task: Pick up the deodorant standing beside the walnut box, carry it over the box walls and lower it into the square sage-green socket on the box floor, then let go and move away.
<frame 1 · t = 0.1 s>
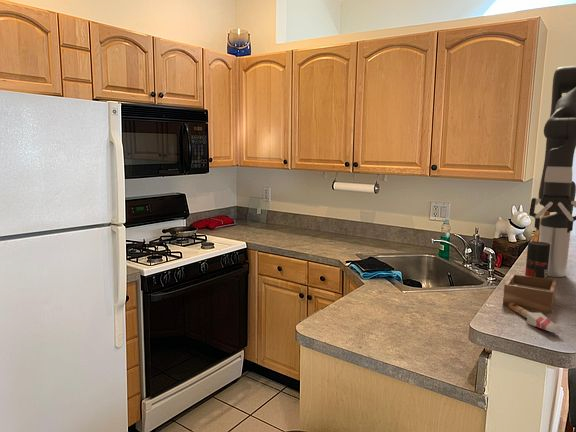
hand: (552, 231, 144), 17 cm above the worktop, fingers open, 8 cm apart
paintbrush: (532, 323, 112), on the worktop
deodorant: (534, 291, 138), on the worktop
walled box: (529, 302, 127), on the worktop
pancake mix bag: (539, 258, 181), on the worktop
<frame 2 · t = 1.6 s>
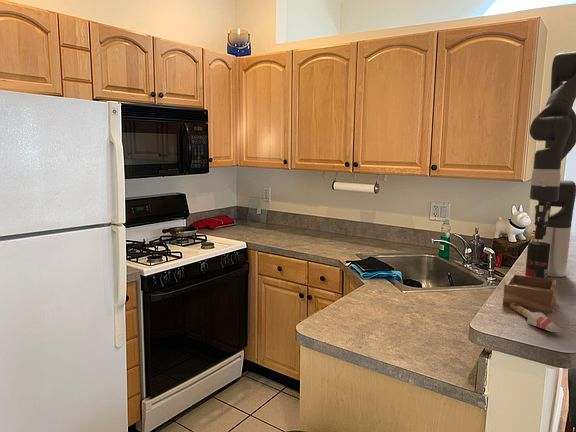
hand: (540, 237, 135), 17 cm above the worktop, fingers open, 8 cm apart
nothing on the worktop moved.
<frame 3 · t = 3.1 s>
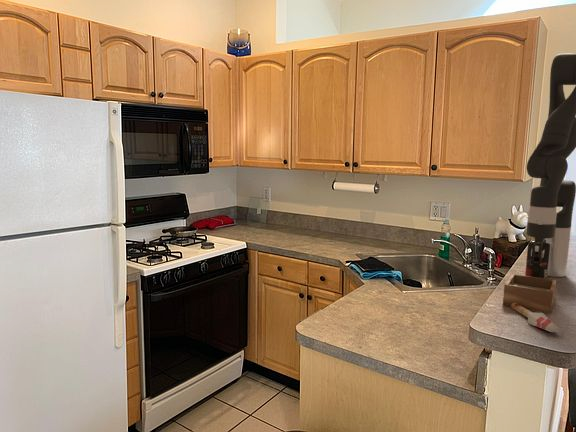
hand: (536, 274, 137), 5 cm above the worktop, fingers closed on deodorant, 6 cm apart
deodorant: (534, 291, 138), on the worktop, touching gripper
everything else where it was.
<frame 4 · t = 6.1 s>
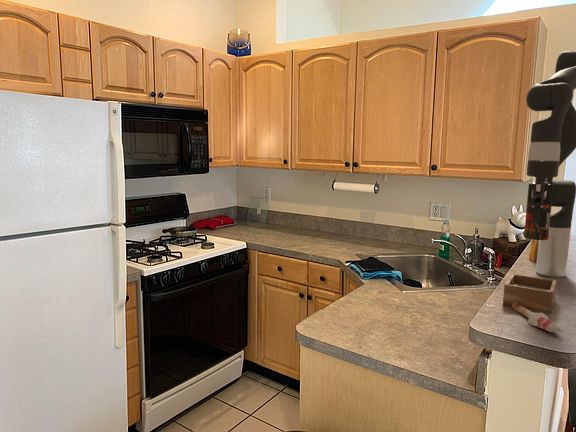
hand: (537, 220, 123), 24 cm above the worktop, fingers closed on deodorant, 6 cm apart
deodorant: (535, 238, 124), point 19 cm above the worktop, touching gripper
everything else where it was.
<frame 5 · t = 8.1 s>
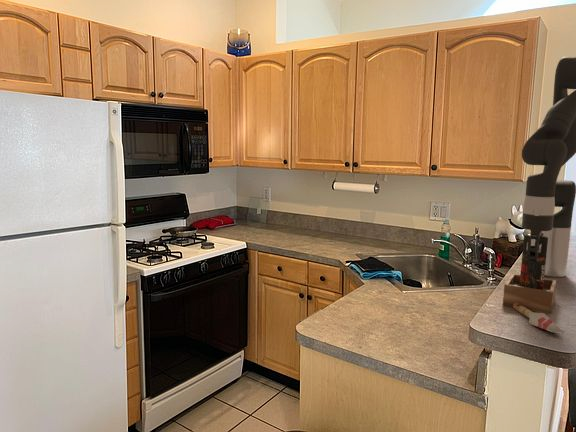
hand: (532, 271, 125), 9 cm above the worktop, fingers closed on deodorant, 6 cm apart
deodorant: (530, 289, 126), point 4 cm above the worktop, touching gripper
everything else where it was.
when the fingers open (7 cm above the worktop, at t = 9.4 s): deodorant drops 1 cm, resting on walled box.
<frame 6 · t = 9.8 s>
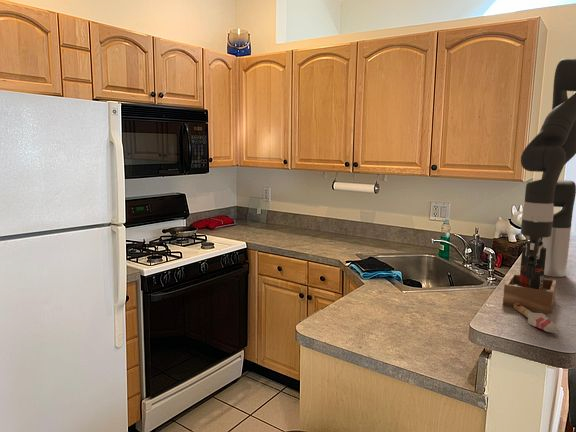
hand: (531, 275, 125), 8 cm above the worktop, fingers open, 8 cm apart
deodorant: (529, 299, 127), point 1 cm above the worktop, touching walled box
everything else where it was.
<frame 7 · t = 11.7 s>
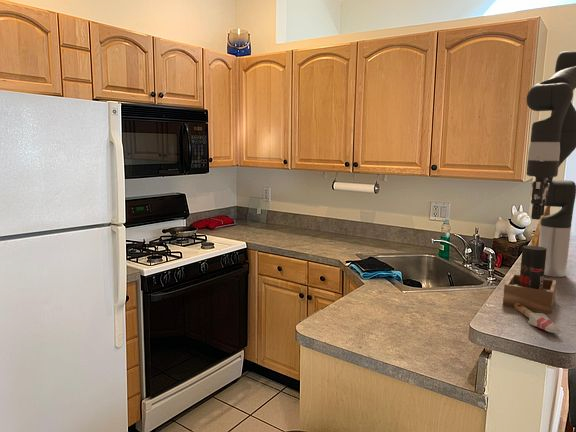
hand: (537, 217, 124), 24 cm above the worktop, fingers open, 8 cm apart
nothing on the worktop moved.
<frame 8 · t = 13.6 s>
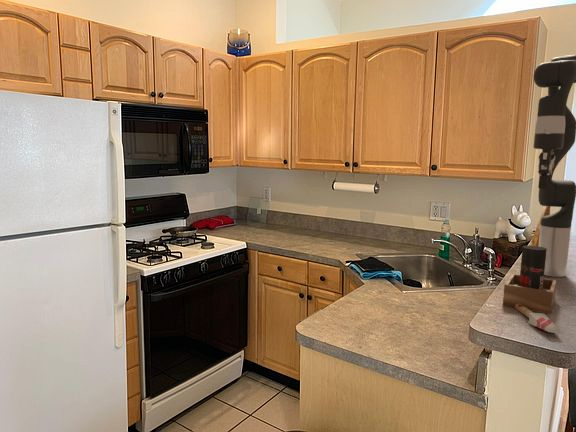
hand: (544, 188, 132), 32 cm above the worktop, fingers open, 8 cm apart
nothing on the worktop moved.
at the end: deodorant 0.1 cm off-centre on the walled box, point 0.8 cm above the walled box's base; deodorant tilted 0°; the gripper is holding nothing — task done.
